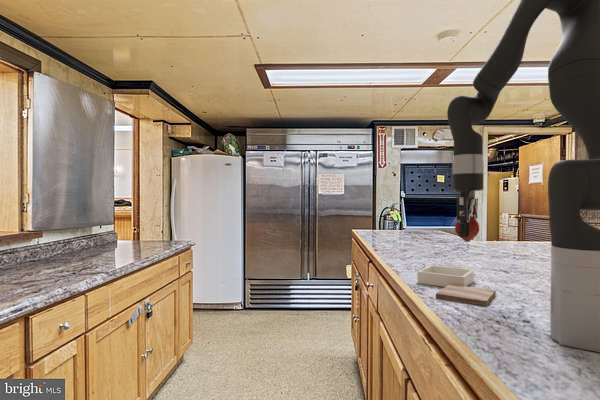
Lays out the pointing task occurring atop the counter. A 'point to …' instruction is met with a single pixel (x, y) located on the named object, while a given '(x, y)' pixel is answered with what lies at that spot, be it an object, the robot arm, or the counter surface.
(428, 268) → the shallow wooden tray
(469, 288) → the board
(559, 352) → the counter surface
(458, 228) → the onion
